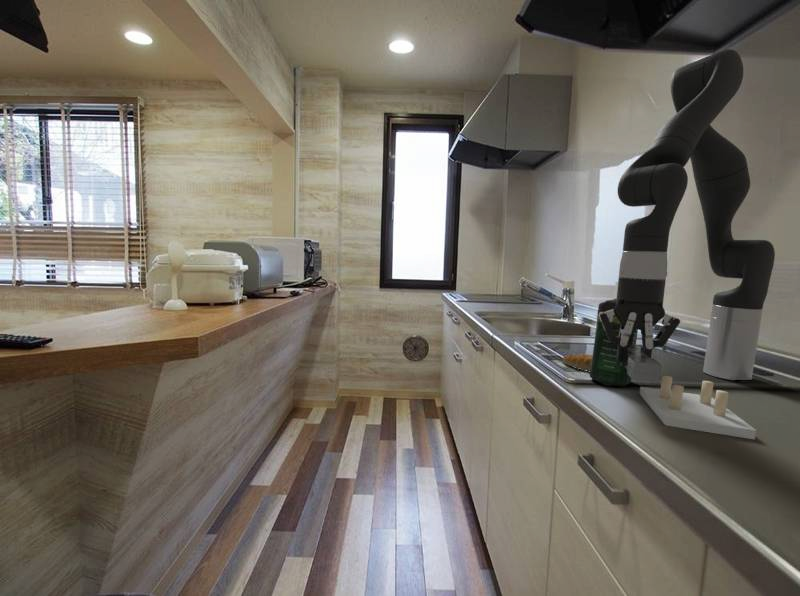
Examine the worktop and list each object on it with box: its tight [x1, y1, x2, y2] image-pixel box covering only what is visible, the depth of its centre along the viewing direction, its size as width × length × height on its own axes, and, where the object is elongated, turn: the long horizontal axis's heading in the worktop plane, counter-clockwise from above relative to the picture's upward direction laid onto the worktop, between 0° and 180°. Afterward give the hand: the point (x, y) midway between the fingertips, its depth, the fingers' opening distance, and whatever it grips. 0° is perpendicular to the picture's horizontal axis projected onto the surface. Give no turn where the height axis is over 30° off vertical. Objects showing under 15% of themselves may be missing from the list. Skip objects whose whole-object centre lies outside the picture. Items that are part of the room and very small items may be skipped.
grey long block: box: [625, 345, 662, 384], centre depth 73 cm, size 14×4×3 cm, turn 162°
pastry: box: [562, 353, 593, 371], centre depth 97 cm, size 9×7×4 cm
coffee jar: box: [589, 298, 639, 387], centre depth 86 cm, size 10×8×19 cm
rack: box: [639, 375, 757, 440], centre depth 70 cm, size 16×12×6 cm
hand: (632, 365), depth 75 cm, fingers closed on grey long block, 2 cm apart
